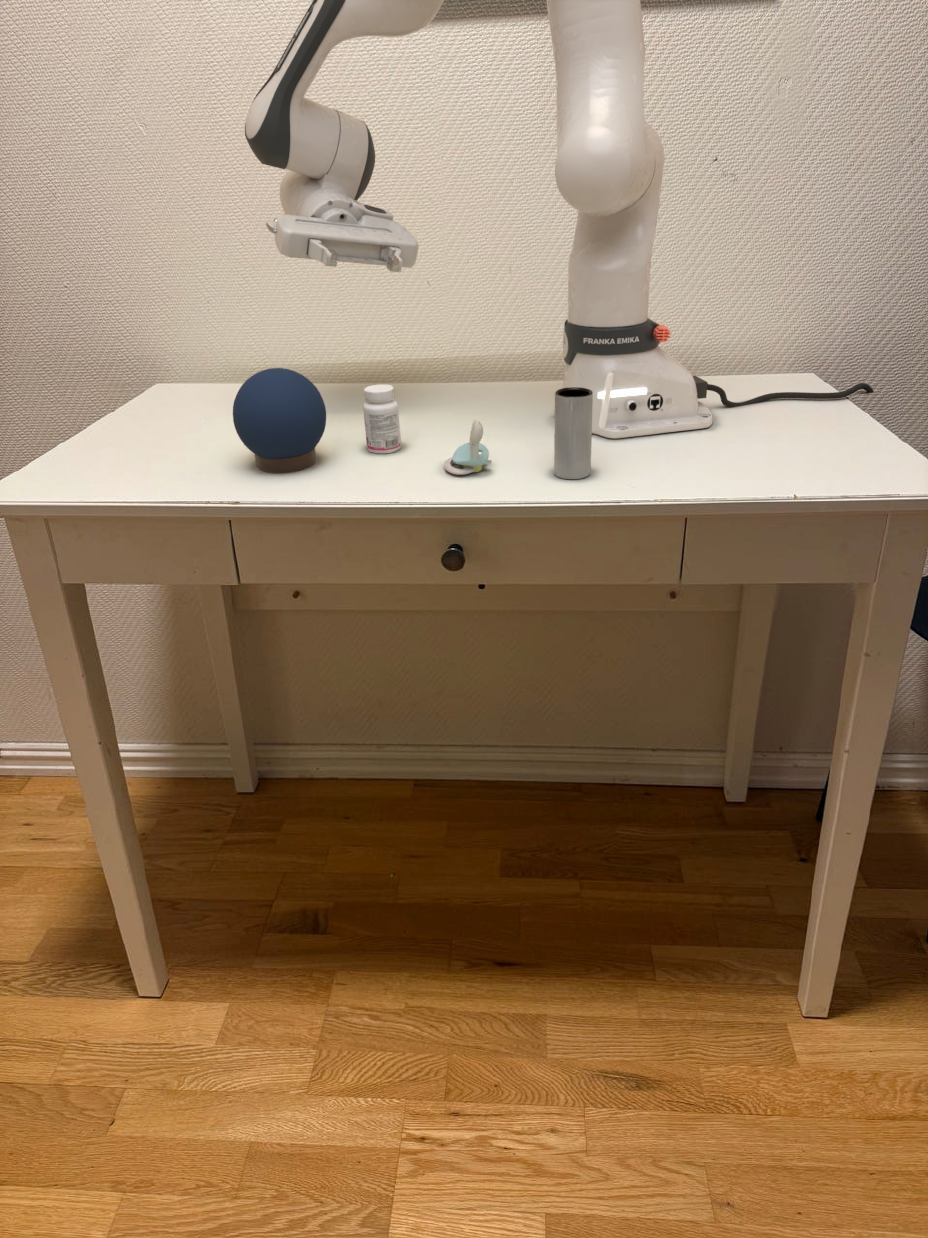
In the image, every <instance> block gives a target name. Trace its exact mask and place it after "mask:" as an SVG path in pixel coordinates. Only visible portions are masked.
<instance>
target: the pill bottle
mask: <svg viewBox="0 0 928 1238" xmlns="http://www.w3.org/2000/svg"><path fill="white" fill-rule="evenodd" d="M363 392H364V393H363V394H364V400H365V402H364V403H363V405H362V410H363V411H362V412H363V421H364V432H365V440H366V449H367V451H369V452H370V453H373V454H390V453H394V452H397V451H399V450H400V449H401V448H402V438H401V425H400V413H399V404H398V402H397V400H395V399H396V397H395V388H394V386H393V385H390V384H384V383H383V384H381V383H380V384H374V385H368V386H366V387H365V388H364V389H363Z"/></svg>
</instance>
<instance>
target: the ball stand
mask: <svg viewBox="0 0 928 1238" xmlns="http://www.w3.org/2000/svg"><path fill="white" fill-rule="evenodd" d="M254 460H255V466H256V469H258V471H260V472H264V473H269V474H288V473H295V472H299V471H303V470H306V469H308V468H311V467H313V466H314V465H315V464H316V463H317V452H316V447H315V448H314V449H313V450H312V451H310V452H308V453H306V454H303V455H300V456H296V457H290V458H281V459H271V458H263V457H260V456H258V455H256V454H254Z"/></svg>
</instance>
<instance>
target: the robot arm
mask: <svg viewBox="0 0 928 1238" xmlns="http://www.w3.org/2000/svg"><path fill="white" fill-rule="evenodd" d="M444 1H445V0H312V2H311V4H310V5H309V7H308V9H307V10H306V12H305V14H304V15H303V17H302V19H301V21H300V23H299V25H298V27H297V28H296V30H295V31H294V34H293V35H292V37H291V38H290V41H289V42H288V44H287V46H286V48H285V50H284V51H283V53H282V55H281V57H280V59H279V60H278V62H277V64H276V66H275V67H274V68H273V71H272V73H270V76H269V77H268V79H267V80H266V81H265V83H264V84H263V85H262V87H261V88H260V89H259V91H258V92H257V94H256V95H255V96H254V98H253V100H252V102H251V104H250V106H249V109H248V111H247V115H246V118H245V122H244V123H245V124H244V136H245V139H246V141H247V143H248V146H249V148H250V150H251V151H252V153H253V154H254V156H255V157H256V159H257V160H258V161H259V162H260V163H261V164H262V165H264V166H269V167H273V168H277V169H282V170H287V172H286V173H285V174H284V175H283V176H282V179H281V180H280V183H279V184H280V185H279V200H280V204H281V207H282V210H283V212H284V214H279V215H277V216H276V218H274V219H273V220H270V219H269V220H267V221H266V223H265V226H266V229H267V230H268V231H269V232H271V233H272V234H274V242H275V246H276V249H277V250H278V252H279V253H280V254H281V255H282V256H285V257H287V258H295V259H306V260H315V261H318V262H320V263H322V264H323V265H324V266H325V267H334V268H336V267H337V266H338V262H340V263H352V264H363V265H372V266H373V265H374V266H375V265H376V266H386V269H387V270H389V272H392V273H401V271H402V268H408V269H410V268H413V267H414V266H415V264H416V262H417V258H418V252H419V242H418V240H417V238H416V237H415V236H414V235H413V234H412V233H411V232H410V231H409V229H407V228H406V227H405V226H403V224H401V223H399V222H398V221H395V220H394V214H393V213H392V212H391V211H389V210H386V209H383V208H380V207H377V206H372V205H369V204H365V203H362V202H360V201H358V200H360V198H361V197H362V196H363V194H364V193H365V191H366V189H367V188H368V185H369V183H370V181H371V179H372V177H373V172H374V169H375V165H376V149H375V145H374V141H373V135H372V134H371V130H370V129H369V127H368V125H367V124H366V123H365V121H364V120H362V119H359V118H357V117H354V116H352V115H351V114H347V113H345V112H342V111H340V110H338V109H335V108H332V107H328V106H326V105H323V104H321V103H320V102H316V101H314V100H312V99H310V98H309V99H308V98H306V97H305V96H306V93H307V92H308V90H309V88H310V87H311V85H312V83H313V81H314V80H315V78H316V76H317V75H318V73H319V71H320V69H321V68H322V66H323V65H324V63H325V61H326V60H327V57H328V55H329V54H330V53H331V52H332V51H333V49H334V48H336V46H338V45H339V44H340V43H343V42H345V41H347V40H351V39H355V38H356V39H357V38H364V37H381V38H399V37H405V36H410V35H412V34H415V33H417V32H420V31H421V30H423V29H425V28H426V27H428V26H429V25H430V24H431V23H432V21H433V20H434V18H435V17H436V15H437V14H438V12H439V11H440V9H441V7H442V5H443V3H444ZM546 9H547V16H548V22H549V31H550V39H551V46H552V54H553V60H554V69H555V70H554V71H555V83H556V85H555V86H556V87H555V88H556V104H555V105H556V107H555V108H556V109H555V111H556V114H555V115H556V116H555V118H556V119H555V121H556V125H555V126H556V159H555V165H554V177H555V182H556V187H557V189H558V192H559V193H560V195H561V197H562V198H563V199H564V201H565V202H566V203H567V204H568V205H569V206H571V207H572V208H574V209H575V210H577V217H576V224H575V229H574V230H575V231H574V237H573V242H572V246H571V250H570V254H569V258H568V262H567V263H568V265H567V267H568V268H567V273H568V274H567V318H566V319H565V321H564V328H563V331H562V332H563V334H562V335H563V336H562V350H563V351H562V353H563V354H562V357H563V361H564V364H565V365H564V374H563V381H562V388H569V387H580V388H586V389H590V390H591V391H592V392H593V406H592V434H594V435H598V436H601V437H605V438H608V439H623V438H631V437H633V438H634V437H641V436H649V435H657V434H665V433H666V434H667V433H674V432H682V431H683V432H684V431H691V430H692V431H693V430H701V429H707V428H709V427H711V426H712V424H713V413H712V412H711V410H710V408H709V407H708V406H707V405H706V404H704V403H703V402H701V401H699V400H700V399H706V398H707V395H708V391H711V392H714V393H716V394H717V395H719V398H720V402H721V404H723V406H725V407H727V408H738V407H744V406H749V405H754V404H755V405H756V404H758V403H762V402H766V401H770V400H777V399H778V400H779V399H806V400H807V399H808V400H809V399H810V400H835V399H841V398H846V397H848V396H851V395H852V394H855V393H856V392H858V391H860V390H864V391H865V392H866V393H869V394H874V393H875V390H874V389H873V388H872V386H871V385H869V383H866V382H860V383H857V384H855V385H853V386H851V387H850V388H848V389H846V390H843V391H835V392H804V391H800V392H799V391H784V392H781V391H780V392H770V393H766V394H762V395H759V396H756V397H754V398H751V399H748V400H745V401H741V402H734V401H731V400H728V397H727V393H726V391H725V390H724V389H723V388H722V387H720V386H719V385H715V384H710V383H708V381H706V380H704V379H703V378H701V377H699V376H697V375H693V374H692V373H691V372H690V371H689V369H687V368H686V367H685V366H684V365H683V364H682V363H681V362H679V361H678V360H677V359H675V357H674V356H672V355H671V354H669V352H668V351H666V350H665V349H664V348H663V347H661V346H660V345H659V344H661V343H666V342H668V341H669V339H670V338H671V335H672V334H671V330H670V329H669V328H668V327H667V326H666V325H664V324H660V323H657V322H656V321H654V320H652V319H650V318H649V317H648V315H649V299H650V298H649V296H650V283H651V282H650V281H651V265H652V257H653V255H652V254H653V248H654V241H655V235H656V229H657V223H658V217H659V216H658V215H659V210H660V209H659V208H660V202H661V201H660V200H661V192H662V186H663V185H662V183H663V174H664V166H665V152H664V146H663V142H662V140H661V138H660V136H659V134H658V132H657V131H656V130H655V129H654V127H653V126H651V124H650V123H648V122H646V121H645V114H644V113H645V110H644V109H645V108H644V107H645V106H644V84H645V83H644V81H645V79H644V77H645V60H646V47H645V46H646V45H645V35H644V25H643V15H642V13H643V12H642V5H641V0H546ZM562 388H561V389H562Z"/></svg>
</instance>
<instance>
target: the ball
mask: <svg viewBox="0 0 928 1238" xmlns="http://www.w3.org/2000/svg"><path fill="white" fill-rule="evenodd" d="M232 421H233V426H234V429H235V431H236V434H237V436H238V438H239V439H240V441H241V442H242V444H243V445H244V446H245V447H246V449H248V450H249V452H251V453H253V454H254V455H255V454H256V455H258V456H260V457H263V458H271V459H281V458H290V457H296V456H300V455H303V454H306V453H308V452H310V451H312V450H313V449H314V448H315V449H316V447H317V446H318V444H319V443H320V442H321V439H322V437H323V435H324V433H325V431H326V426H327V409H326V405H325V401H324V399H323V396H322V395H321V393H320V391H319V389H318V388H317V386H316V385H315V384H314V383H313V382H312V381H311V380H310V379H309V378H307V377H306V376H304V375H303V374H301V373H299V372H297V371H295V370H292V369H289V368H283V367H274V368H273V367H271V368H267V369H263V370H260V371H258V372H256V373H254V374H252V375H251V376H250V377H248V378H247V379H246V380H245V381H244V382H243V383H242V384H241V386H240V387H239V389H238V391H237V393H236V394H235V398H234V401H233V405H232Z"/></svg>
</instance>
